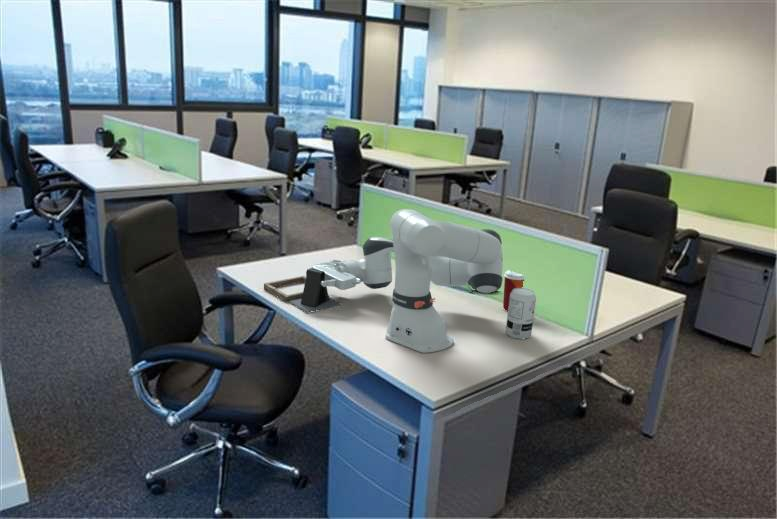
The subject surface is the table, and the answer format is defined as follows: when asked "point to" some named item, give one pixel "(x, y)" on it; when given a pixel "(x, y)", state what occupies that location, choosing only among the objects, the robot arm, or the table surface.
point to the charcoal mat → (308, 308)
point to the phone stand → (314, 289)
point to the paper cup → (511, 285)
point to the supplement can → (520, 313)
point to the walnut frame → (277, 292)
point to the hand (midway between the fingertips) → (314, 280)
